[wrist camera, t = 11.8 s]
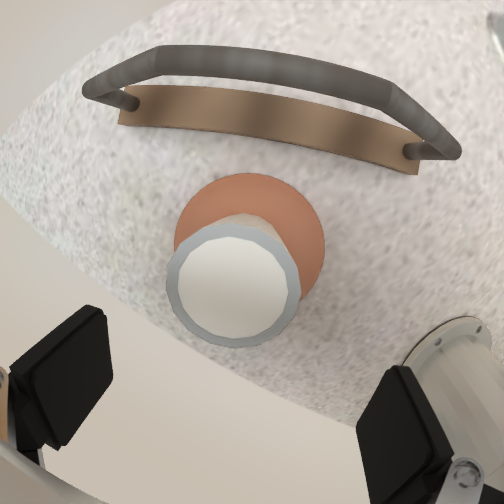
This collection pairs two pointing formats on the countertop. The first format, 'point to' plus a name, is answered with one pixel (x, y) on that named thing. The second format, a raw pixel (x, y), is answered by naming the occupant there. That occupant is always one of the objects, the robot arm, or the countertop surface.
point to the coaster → (267, 207)
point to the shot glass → (234, 282)
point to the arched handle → (274, 103)
